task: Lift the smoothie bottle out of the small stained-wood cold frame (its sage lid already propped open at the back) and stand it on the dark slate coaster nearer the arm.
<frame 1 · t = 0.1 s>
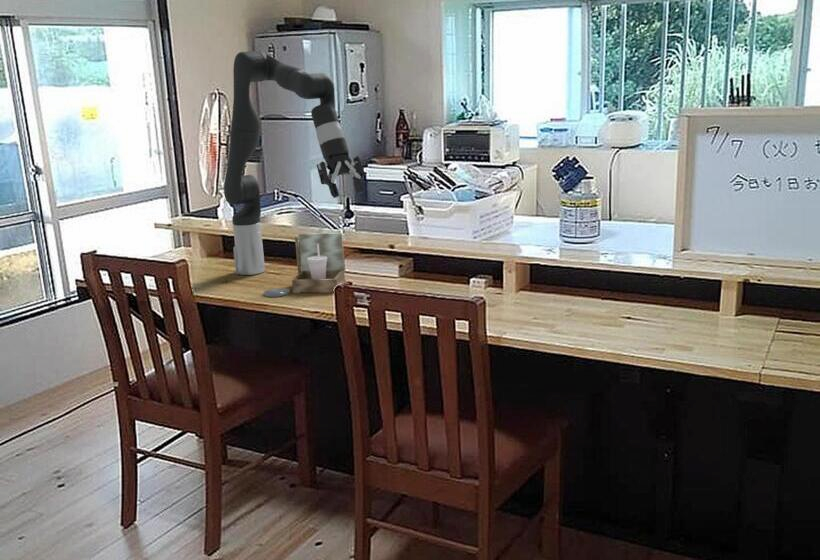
hand: (348, 194, 231), 31 cm above the counter, tool tilted 20°, fingers open, 8 cm apart
cold frame: (319, 287, 255), on the counter
coaster: (277, 293, 251), on the counter
smoothie: (319, 288, 255), resting in cold frame
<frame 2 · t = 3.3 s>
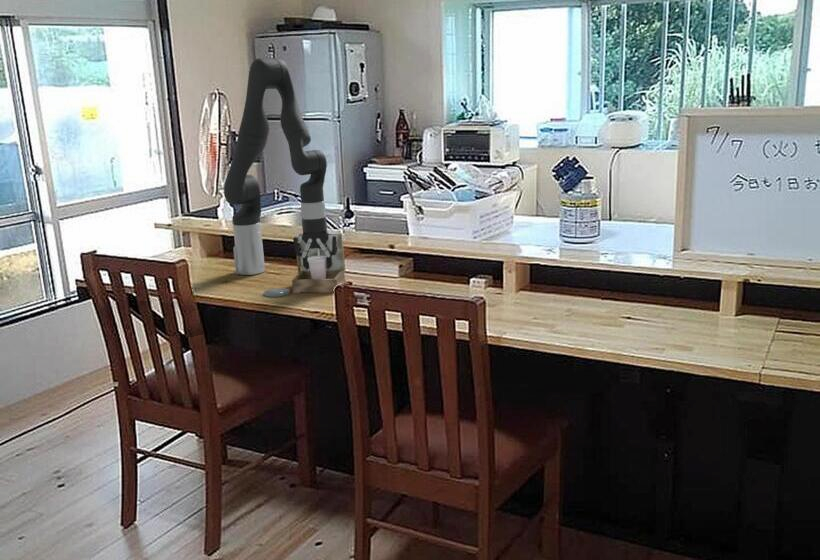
hand: (318, 268, 254), 6 cm above the counter, tool pointing down, fingers closed on smoothie, 6 cm apart
smoothie: (319, 287, 255), resting in cold frame, touching gripper
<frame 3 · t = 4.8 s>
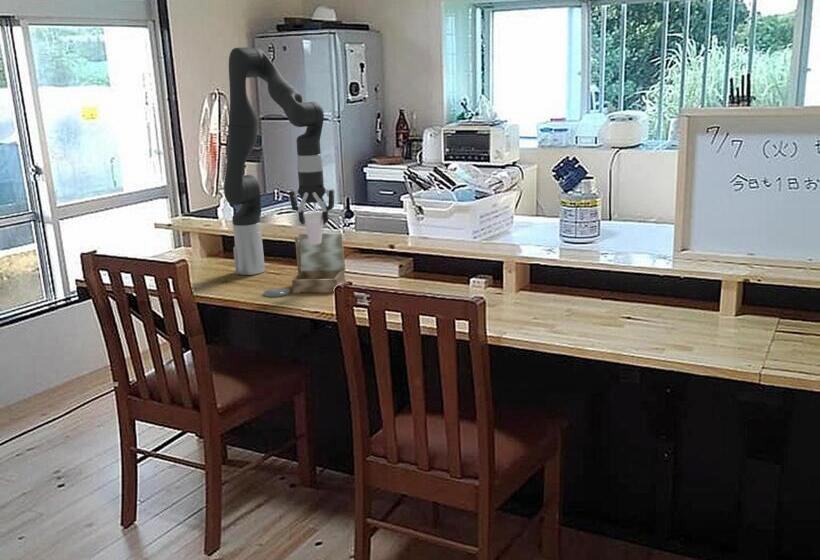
hand: (314, 223, 250), 21 cm above the counter, tool pointing down, fingers closed on smoothie, 6 cm apart
smoothie: (315, 243, 252), point 14 cm above the counter, touching gripper
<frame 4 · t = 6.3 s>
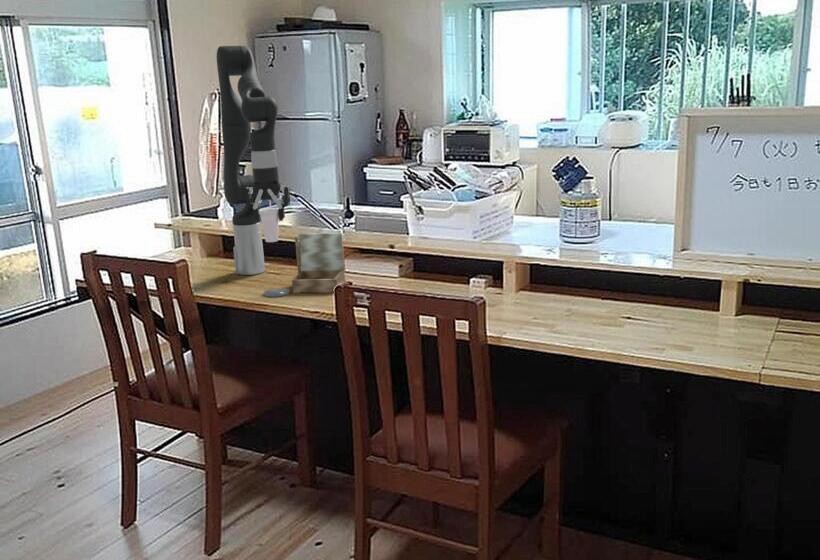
hand: (270, 220, 245), 23 cm above the counter, tool pointing down, fingers closed on smoothie, 6 cm apart
smoothie: (271, 241, 247), point 17 cm above the counter, touching gripper
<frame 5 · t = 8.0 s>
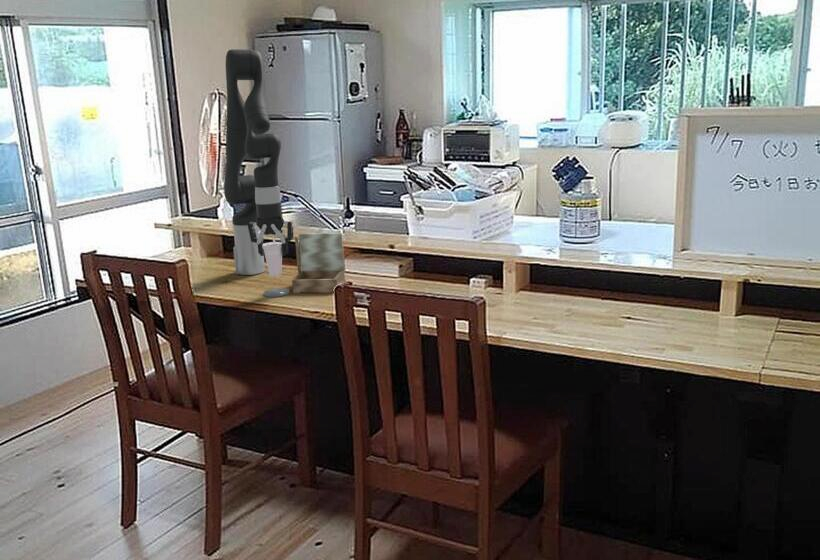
hand: (273, 255, 248), 12 cm above the counter, tool pointing down, fingers closed on smoothie, 6 cm apart
smoothie: (275, 275, 249), point 6 cm above the counter, touching gripper
when the fingers open (8 cm above the counter, at t = 9.6 s): smoothie stays where it is, resting on coaster.
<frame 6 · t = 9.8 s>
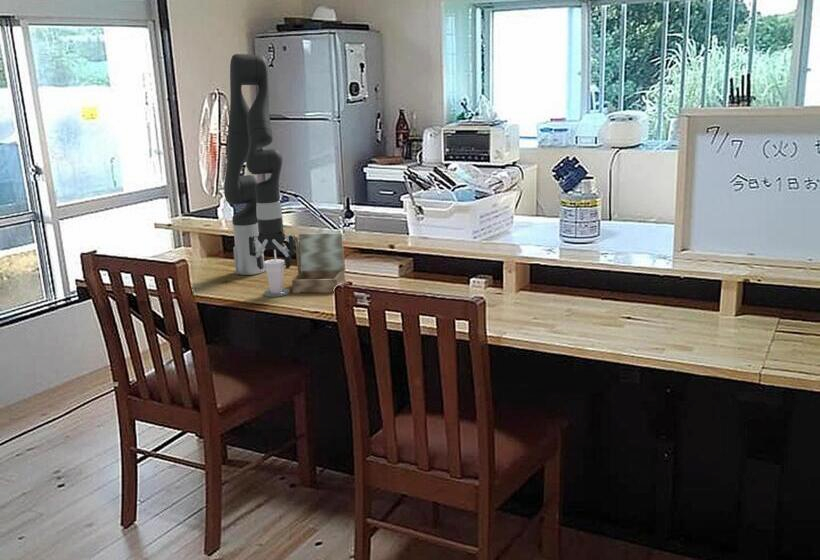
hand: (274, 268, 249), 8 cm above the counter, tool pointing down, fingers open, 8 cm apart
smoothie: (276, 292, 251), resting on coaster
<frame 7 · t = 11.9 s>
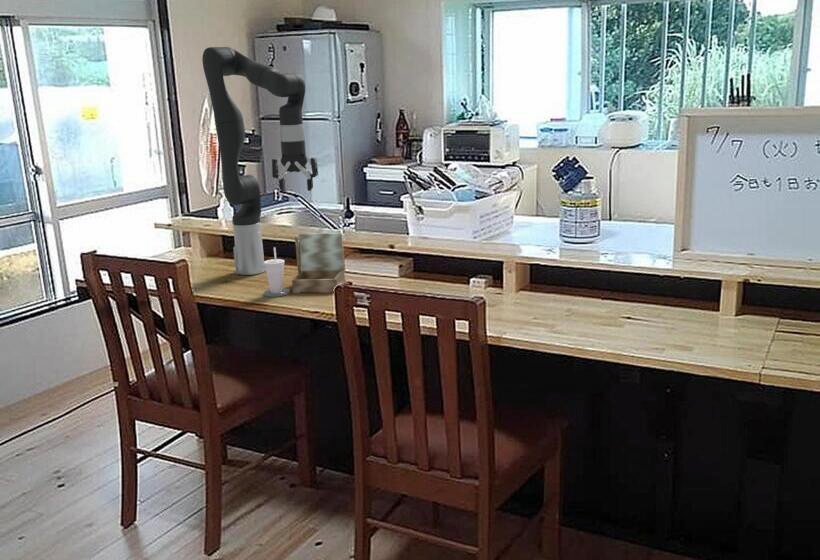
hand: (296, 190, 256), 30 cm above the counter, tool pointing down, fingers open, 8 cm apart
nothing on the counter moved.
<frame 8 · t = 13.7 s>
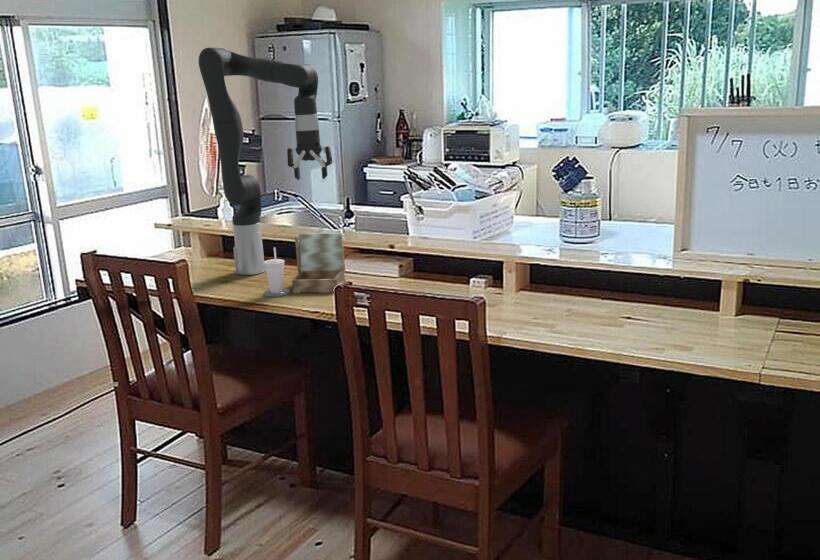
hand: (311, 179, 264), 32 cm above the counter, tool pointing down, fingers open, 8 cm apart
nothing on the counter moved.
at the end: smoothie 0.1 cm from the coaster (horizontally); smoothie tilted 0°; smoothie resting on coaster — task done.
